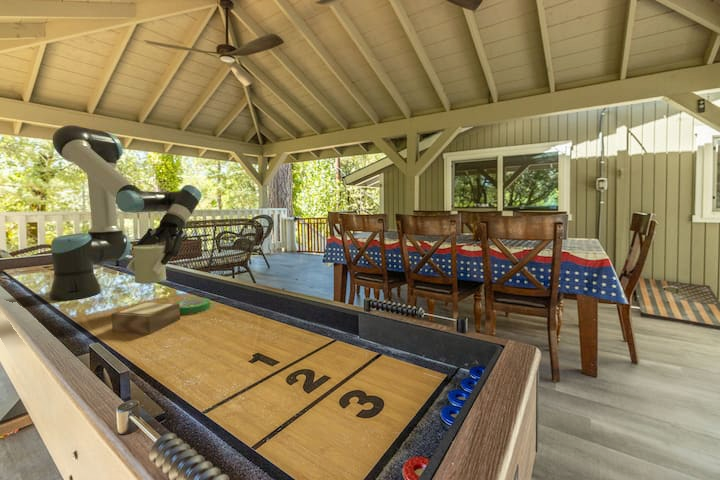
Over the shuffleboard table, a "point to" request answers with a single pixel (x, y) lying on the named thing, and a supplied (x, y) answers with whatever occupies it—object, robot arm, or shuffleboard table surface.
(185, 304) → the tape roll
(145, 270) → the can
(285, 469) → the shuffleboard table surface
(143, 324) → the plinth
